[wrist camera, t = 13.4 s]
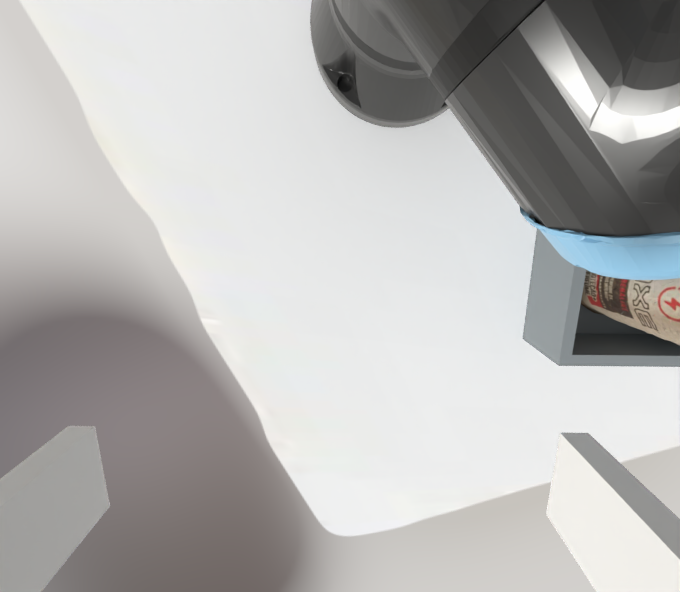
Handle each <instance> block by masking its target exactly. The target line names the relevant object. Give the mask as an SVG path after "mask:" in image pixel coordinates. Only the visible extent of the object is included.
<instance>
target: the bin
mask: <svg viewBox="0 0 680 592" xmlns="http://www.w3.org/2000/svg"><path fill="white" fill-rule="evenodd" d="M585 275H586V269H584V268H581V267H577V266H575V265H573V264H571V263H570V262H568V261H567V260H566V259H564V258H563V257H562V256H561V255H560V254H559V253H558V252H557V250H556V249H555V248H554V247H553V246H552V244H551V243H550V242H549V241H548V240H547V238H546V237H545V236H544V235H543V233H542V232H541V231H540V230H539V229H538V228H537V235H536V242H535V250H534V257H533V265H532V273H531V280H530V288H529V295H528V303H527V310H526V318H525V326H524V333H523V339H524V340H525V341H526V342H528V343H529V344H530V345H532V346H533V347H534V348H536V349H537V350H538V351H540V352H541V353H542V354H544V355H545V356H546V357H548V358H549V359H550V360H552V361H553V362H554V363H556V364H557V365H559V366H660V367H680V345H678V344H676V343H674V342H671V341H668V340H664V339H661V338H659V337H657V336H655V335H653V334H649V333H647V332H645V331H642V330H640V329H637V328H634V327H631V326H628V325H627V324H625V323H621V322H619V321H616V320H614V319H612V318H610V317H608V316H606V315H602V314H596V313H593V312H592V311H590V310H588V309H587V308H585V307H584V306H583V305H581V299H582V293H583V287H584V281H585Z"/></svg>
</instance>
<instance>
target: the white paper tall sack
mask: <svg viewBox="0 0 680 592" xmlns="http://www.w3.org/2000/svg"><path fill="white" fill-rule="evenodd" d="M581 305H583V306H584V307H585V308H587V309H588V310H590V311H592V312H593V313H596V314H602V315H606V316H608V317H610V318H612V319H614V320H616V321H619V322H621V323H625V324H627V325H628V326H631V327H634V328H637V329H640V330H642V331H645V332H647V333H649V334H653V335H655V336H657V337H659V338H661V339H664V340H668V341H671V342H674V343H676V344H678V345H680V278H678V279H667V280H629V279H619V278H612V277H606V276H601V275H598V274H595V273H592V272H590V271H588V270H586V275H585V281H584V287H583V293H582V299H581Z"/></svg>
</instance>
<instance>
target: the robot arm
mask: <svg viewBox="0 0 680 592" xmlns="http://www.w3.org/2000/svg"><path fill="white" fill-rule="evenodd" d="M310 24H311V37H312V43H313V48H314V53H315V57H316V61H317V65H318V68H319V70H320V73H321V75H322V77H323V80H324V82H325V83H326V85H327V87H328V89H329V90H330V91H331V93H332V94H333V96H334V97H335V98H336V99H337V100H338V102H339V103H340V104H341V105H342V106H343V107H345V108H346V109H347V110H348V111H349V112H351V113H352V114H354V115H355V116H357V117H359V118H360V119H362V120H364V121H367V122H369V123H372V124H375V125H379V126H384V127H408V126H413V125H417V124H421V123H424V122H426V121H429V120H431V119H433V118H435V117H436V116H438V115H440V114H441V113H443V112H444V111H446V110H447V109H448V108H450V110H451V111H452V112H453V114H454V115H455V117H456V118H457V119H458V121H459V122H460V123H461V125H462V126H463V128H464V129H465V130H466V132H467V133H468V135H469V136H470V137H471V139H472V140H473V142H474V143H475V144H476V146H477V147H478V148H479V150H480V151H481V153H482V154H483V155H484V157H485V158H486V160H487V161H488V162H489V164H490V165H491V167H492V168H493V169H494V171H495V172H496V173H497V175H498V176H499V178H500V179H501V180H502V182H503V183H504V185H505V186H506V187H507V189H508V190H509V192H510V193H511V194H512V196H513V197H514V199H515V200H516V201H517V203H518V204H519V205H520V212H521V214H522V215H523V216H524V218H525V219H526V220H527V221H528V222H529V223H530V224H531V225H532V226H534V227H536V228H538V229H539V230H540V231H541V232H542V233H543V235H544V236H545V237H546V238H547V240H548V241H549V242H550V243H551V244H552V246H553V247H554V248H555V249H556V250H557V252H558V253H559V254H560V255H561V256H562V257H563V258H564V259H566V260H567V261H568V262H570V263H571V264H573V265H575V266H577V267H581V268H584V269H586V270H588V271H590V272H592V273H595V274H598V275H601V276H606V277H612V278H619V279H629V280H667V279H678V278H680V0H312V4H311V19H310ZM109 507H110V503H109V498H108V493H107V487H106V482H105V477H104V472H103V467H102V461H101V456H100V451H99V445H98V440H97V435H96V429H95V426H68V427H67V428H65V429H64V430H63V431H61V432H60V433H59V434H58V435H56V436H55V437H54V438H53V439H51V440H50V441H49V442H47V443H46V444H45V445H43V446H42V447H41V448H40V449H38V450H37V451H36V452H34V453H33V454H32V455H31V456H29V457H28V458H27V459H25V460H24V461H23V462H22V463H20V464H19V465H18V466H16V467H15V468H14V469H12V470H11V471H10V472H9V473H7V474H6V475H5V476H3V477H2V478H1V479H0V592H42V590H43V589H44V588H45V587H46V585H47V584H48V583H49V582H50V580H51V579H52V578H53V577H54V575H55V574H56V573H57V572H58V570H59V569H60V568H61V567H62V565H63V564H64V563H65V562H66V560H67V559H68V558H69V557H70V555H71V554H72V553H73V551H74V550H75V549H76V548H77V546H78V545H79V544H80V543H81V541H82V540H83V539H84V538H85V536H86V535H87V534H88V533H89V532H90V530H91V529H92V528H93V527H94V525H95V524H96V523H97V522H98V520H99V519H100V518H101V517H102V515H103V514H104V513H105V512H106V510H107V509H108V508H109ZM546 515H547V516H548V518H549V520H550V521H551V523H552V524H553V526H554V527H555V529H556V530H557V532H558V533H559V535H560V537H561V538H562V540H563V541H564V543H565V544H566V546H567V547H568V549H569V550H570V552H571V554H572V555H573V557H574V558H575V560H576V561H577V563H578V564H579V566H580V567H581V569H582V570H583V572H584V573H585V575H586V577H587V578H588V580H589V581H590V583H591V585H592V586H593V587H594V589H595V591H596V592H680V519H679V518H678V517H677V516H676V515H675V514H674V513H673V512H672V511H671V510H670V509H668V508H667V507H666V506H665V505H664V504H663V503H662V502H661V501H660V500H659V499H658V498H657V497H656V496H655V495H654V494H652V493H651V492H650V491H649V490H648V489H647V488H646V487H645V486H644V485H643V484H642V483H640V482H639V480H638V479H636V478H635V477H634V476H633V475H632V474H631V473H630V472H629V471H628V470H627V469H626V468H625V467H624V466H623V465H622V464H620V463H619V462H618V461H617V460H616V459H615V458H614V457H613V456H612V455H611V454H610V453H609V452H608V451H607V450H606V449H604V448H603V447H602V446H601V445H600V444H599V443H598V442H597V441H596V440H595V439H594V438H593V437H592V436H591V435H590V434H588V433H560V436H559V442H558V448H557V453H556V459H555V465H554V471H553V477H552V483H551V489H550V495H549V501H548V506H547V512H546Z"/></svg>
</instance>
